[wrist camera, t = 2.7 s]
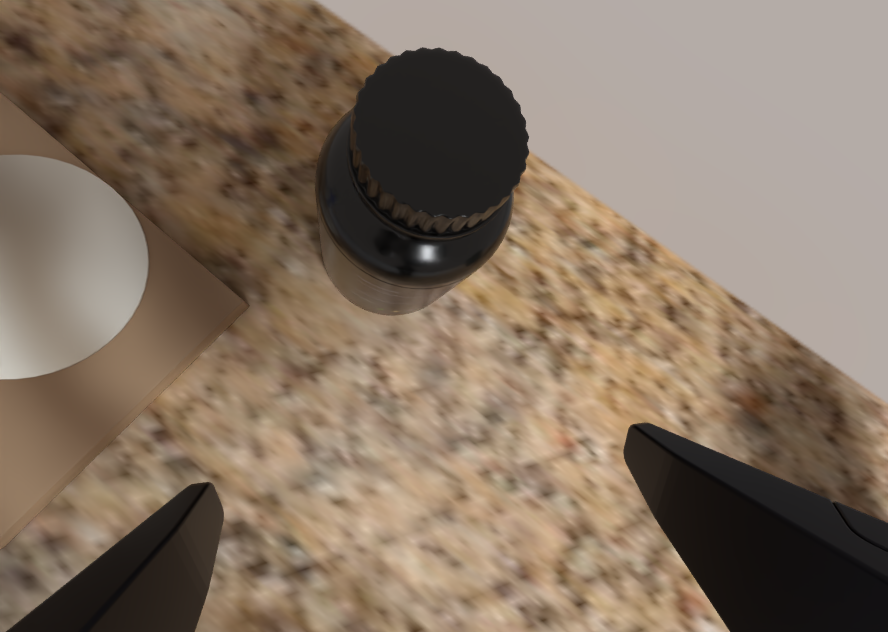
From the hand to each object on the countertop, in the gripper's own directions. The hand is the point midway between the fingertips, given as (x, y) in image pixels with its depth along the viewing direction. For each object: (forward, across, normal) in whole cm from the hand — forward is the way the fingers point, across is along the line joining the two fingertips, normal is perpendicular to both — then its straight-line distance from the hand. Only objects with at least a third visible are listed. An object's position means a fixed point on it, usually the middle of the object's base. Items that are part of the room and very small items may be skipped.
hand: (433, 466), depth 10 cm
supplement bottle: (+15, 0, -1) cm, 15 cm away
